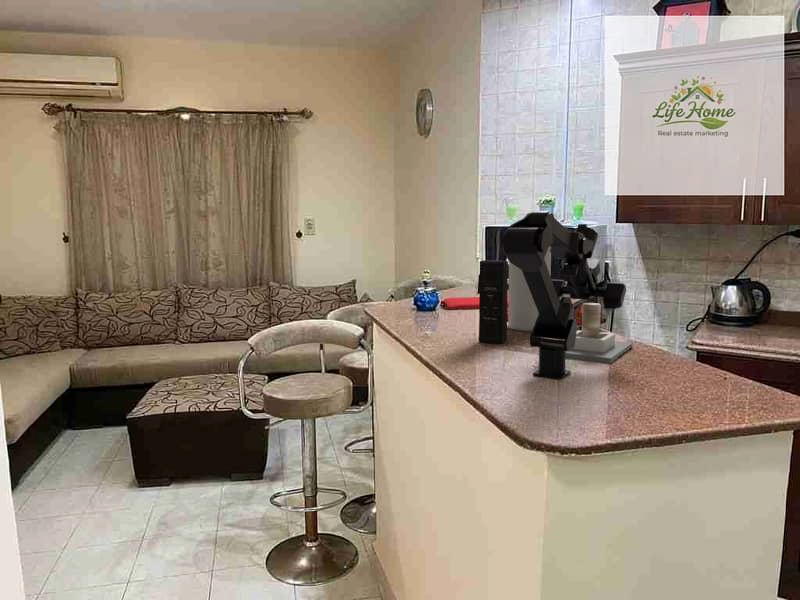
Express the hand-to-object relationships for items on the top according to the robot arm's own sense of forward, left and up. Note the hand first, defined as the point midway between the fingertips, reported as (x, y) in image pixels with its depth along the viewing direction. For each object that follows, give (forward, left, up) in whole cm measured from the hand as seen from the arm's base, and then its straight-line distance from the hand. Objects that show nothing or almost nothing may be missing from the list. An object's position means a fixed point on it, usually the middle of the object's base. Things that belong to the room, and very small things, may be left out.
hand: (591, 313), depth 154 cm
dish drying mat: (+60, +56, -11) cm, 83 cm away
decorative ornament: (+33, +40, -10) cm, 53 cm away
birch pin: (0, 0, -9) cm, 9 cm away
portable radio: (-2, +27, -10) cm, 29 cm away
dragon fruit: (+31, +10, -10) cm, 34 cm away
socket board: (0, 0, -10) cm, 10 cm away
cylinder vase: (+22, +26, -10) cm, 36 cm away
